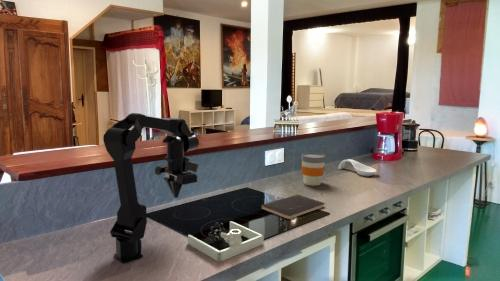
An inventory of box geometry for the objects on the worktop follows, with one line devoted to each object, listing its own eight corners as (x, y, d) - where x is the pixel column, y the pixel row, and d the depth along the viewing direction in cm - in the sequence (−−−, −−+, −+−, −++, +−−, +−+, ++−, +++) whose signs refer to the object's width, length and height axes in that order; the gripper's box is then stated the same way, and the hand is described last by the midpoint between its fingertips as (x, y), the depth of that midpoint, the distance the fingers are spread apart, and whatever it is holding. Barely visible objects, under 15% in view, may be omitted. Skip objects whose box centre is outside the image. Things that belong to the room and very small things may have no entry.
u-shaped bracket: (219, 262, 112) (219, 252, 112) (187, 243, 124) (187, 235, 123) (263, 243, 125) (263, 235, 124) (231, 228, 137) (231, 221, 136)
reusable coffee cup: (329, 184, 197) (330, 156, 194) (311, 187, 190) (313, 158, 187) (312, 178, 207) (313, 151, 204) (295, 181, 200) (296, 154, 197)
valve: (247, 250, 121) (223, 238, 129) (247, 230, 119) (223, 219, 128) (231, 256, 116) (208, 243, 125) (231, 236, 115) (208, 224, 124)
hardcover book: (324, 208, 162) (325, 203, 162) (288, 221, 147) (289, 215, 146) (296, 198, 174) (296, 194, 173) (260, 209, 159) (260, 204, 158)
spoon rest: (380, 175, 217) (381, 163, 216) (368, 179, 209) (369, 166, 208) (345, 167, 235) (346, 156, 234) (334, 170, 227) (334, 158, 226)
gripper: (210, 155, 129) (210, 199, 132) (180, 147, 142) (180, 187, 145) (182, 160, 122) (183, 206, 124) (153, 151, 135) (154, 193, 138)
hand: (176, 197), depth 133 cm, fingers closed
